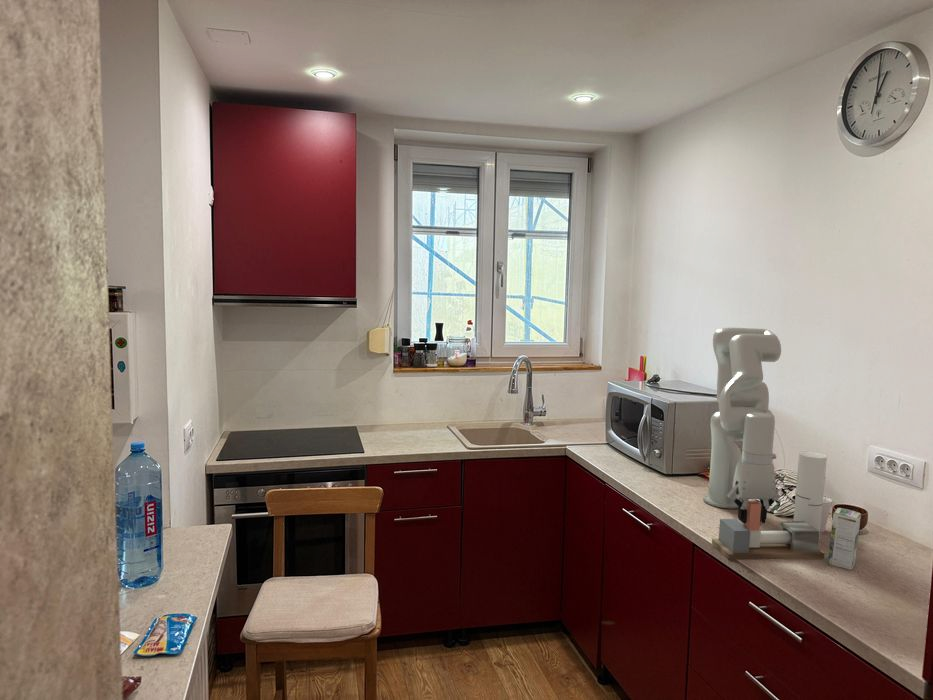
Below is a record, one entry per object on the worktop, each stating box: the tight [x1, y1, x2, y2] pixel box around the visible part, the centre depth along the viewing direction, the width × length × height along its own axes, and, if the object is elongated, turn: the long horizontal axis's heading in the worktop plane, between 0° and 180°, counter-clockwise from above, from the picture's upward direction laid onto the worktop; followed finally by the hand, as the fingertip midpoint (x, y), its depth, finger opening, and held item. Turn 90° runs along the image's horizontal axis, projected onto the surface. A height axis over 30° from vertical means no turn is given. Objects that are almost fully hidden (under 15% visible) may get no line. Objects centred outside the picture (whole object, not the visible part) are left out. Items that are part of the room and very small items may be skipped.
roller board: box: [711, 520, 825, 561], centre depth 175 cm, size 10×27×7 cm, turn 93°
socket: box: [718, 518, 750, 553], centre depth 175 cm, size 8×4×6 cm, turn 3°
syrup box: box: [827, 507, 862, 571], centre depth 168 cm, size 6×6×14 cm
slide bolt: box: [742, 499, 792, 547], centre depth 175 cm, size 5×16×12 cm, turn 93°
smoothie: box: [820, 496, 833, 533], centre depth 191 cm, size 6×6×14 cm
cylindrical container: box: [792, 450, 828, 538], centre depth 185 cm, size 7×7×25 cm
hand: (751, 520), depth 174 cm, fingers open, 4 cm apart
